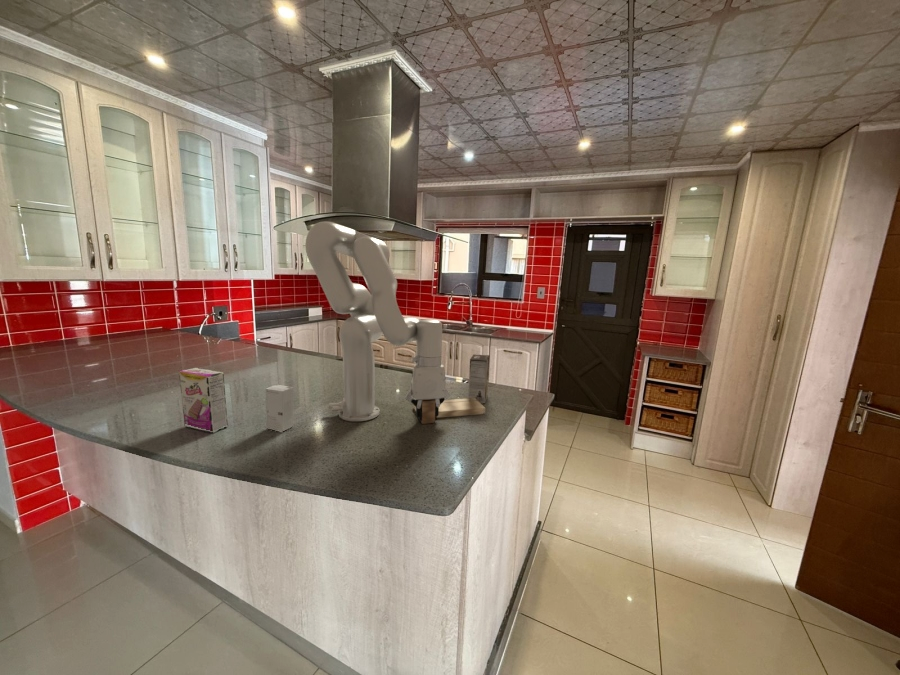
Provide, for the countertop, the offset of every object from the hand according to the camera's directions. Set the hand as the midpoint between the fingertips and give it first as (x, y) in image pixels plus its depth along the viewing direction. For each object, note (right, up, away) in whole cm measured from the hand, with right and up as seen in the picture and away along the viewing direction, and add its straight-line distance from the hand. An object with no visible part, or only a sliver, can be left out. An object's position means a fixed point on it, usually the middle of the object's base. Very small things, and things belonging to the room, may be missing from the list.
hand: (427, 418), depth 106 cm
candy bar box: (-62, -1, -9) cm, 62 cm away
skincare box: (-41, -1, -8) cm, 42 cm away
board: (+7, 0, +10) cm, 12 cm away
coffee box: (+17, +2, +22) cm, 28 cm away
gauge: (-1, 0, +4) cm, 4 cm away
